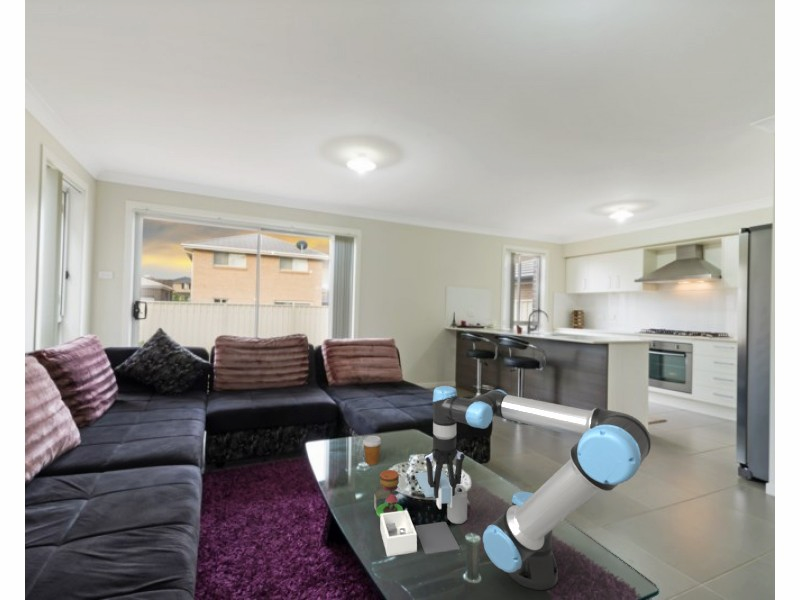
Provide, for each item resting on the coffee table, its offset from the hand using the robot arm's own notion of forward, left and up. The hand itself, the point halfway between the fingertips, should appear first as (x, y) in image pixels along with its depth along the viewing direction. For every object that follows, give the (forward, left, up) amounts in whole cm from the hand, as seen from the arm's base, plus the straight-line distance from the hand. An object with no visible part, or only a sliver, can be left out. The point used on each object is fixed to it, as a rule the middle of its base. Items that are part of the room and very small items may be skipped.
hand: (444, 505), depth 124 cm
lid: (+8, 0, +2) cm, 8 cm away
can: (+18, -11, -17) cm, 27 cm away
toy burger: (+29, +13, -17) cm, 36 cm away
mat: (+9, 0, -17) cm, 19 cm away
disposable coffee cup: (+72, +14, -17) cm, 75 cm away
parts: (+11, +13, -17) cm, 24 cm away
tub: (+11, +13, -17) cm, 24 cm away
